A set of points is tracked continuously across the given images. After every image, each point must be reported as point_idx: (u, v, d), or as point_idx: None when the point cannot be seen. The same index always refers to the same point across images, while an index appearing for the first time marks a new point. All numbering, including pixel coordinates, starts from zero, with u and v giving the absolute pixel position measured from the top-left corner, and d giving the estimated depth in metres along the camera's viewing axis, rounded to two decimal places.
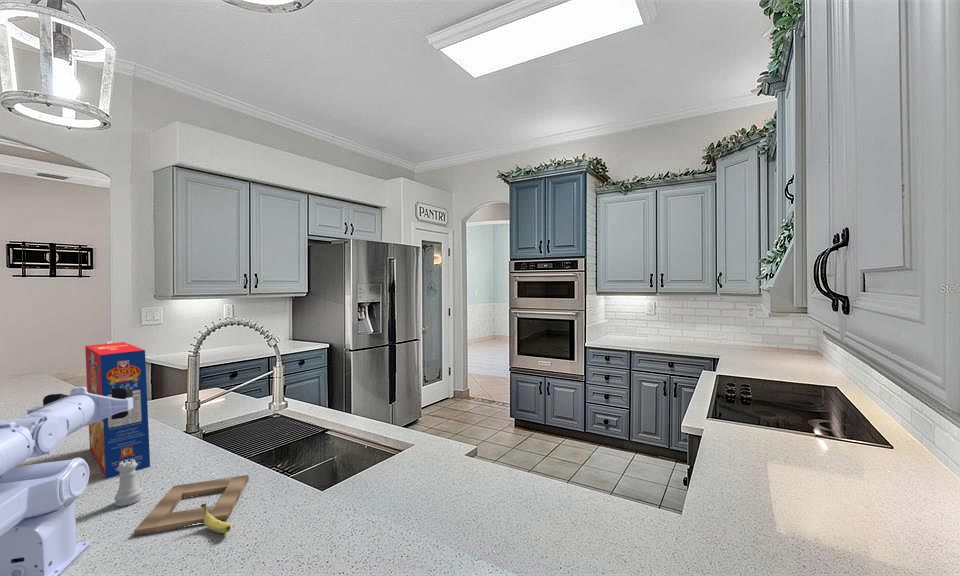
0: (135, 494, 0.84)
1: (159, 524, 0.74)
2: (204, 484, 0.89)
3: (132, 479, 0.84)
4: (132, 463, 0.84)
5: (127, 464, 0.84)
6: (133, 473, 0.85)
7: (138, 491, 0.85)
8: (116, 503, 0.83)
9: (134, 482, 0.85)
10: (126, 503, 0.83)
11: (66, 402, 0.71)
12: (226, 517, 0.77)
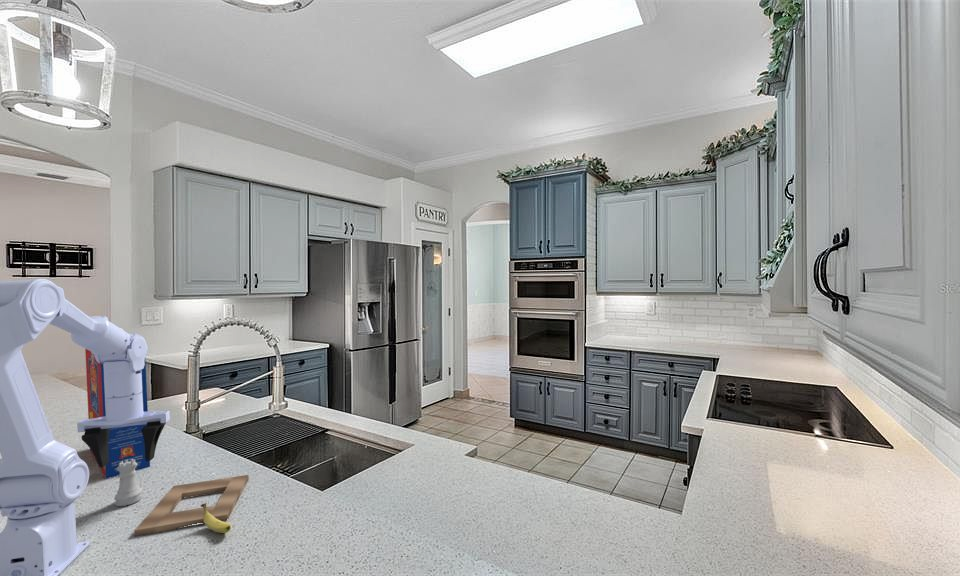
0: (135, 494, 0.84)
1: (159, 524, 0.74)
2: (204, 484, 0.89)
3: (132, 479, 0.84)
4: (132, 463, 0.84)
5: (127, 464, 0.84)
6: (133, 473, 0.85)
7: (138, 491, 0.85)
8: (116, 503, 0.83)
9: (134, 482, 0.85)
10: (126, 503, 0.83)
11: None
12: (226, 517, 0.77)
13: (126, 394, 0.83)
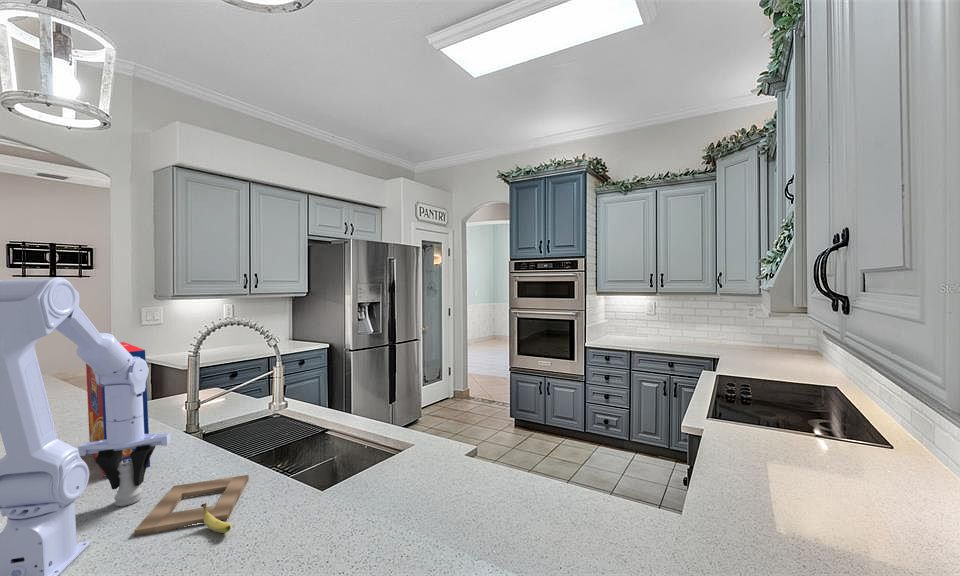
0: (135, 494, 0.84)
1: (159, 524, 0.74)
2: (204, 484, 0.89)
3: (132, 479, 0.84)
4: (132, 463, 0.84)
5: (127, 464, 0.84)
6: (133, 473, 0.85)
7: (138, 491, 0.85)
8: (116, 503, 0.83)
9: None
10: (126, 502, 0.83)
11: None
12: (226, 517, 0.77)
13: (127, 418, 0.83)
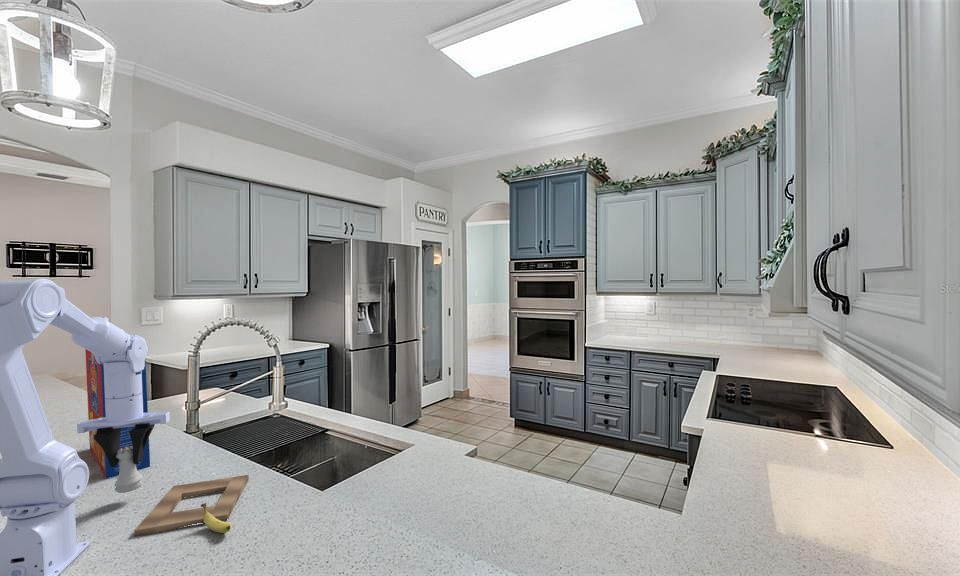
0: (135, 481, 0.84)
1: (159, 524, 0.74)
2: (204, 484, 0.89)
3: (131, 466, 0.84)
4: (130, 450, 0.84)
5: (125, 452, 0.84)
6: (132, 460, 0.84)
7: (138, 478, 0.85)
8: (116, 489, 0.83)
9: (133, 469, 0.85)
10: (126, 489, 0.83)
11: None
12: (226, 517, 0.77)
13: (126, 395, 0.83)
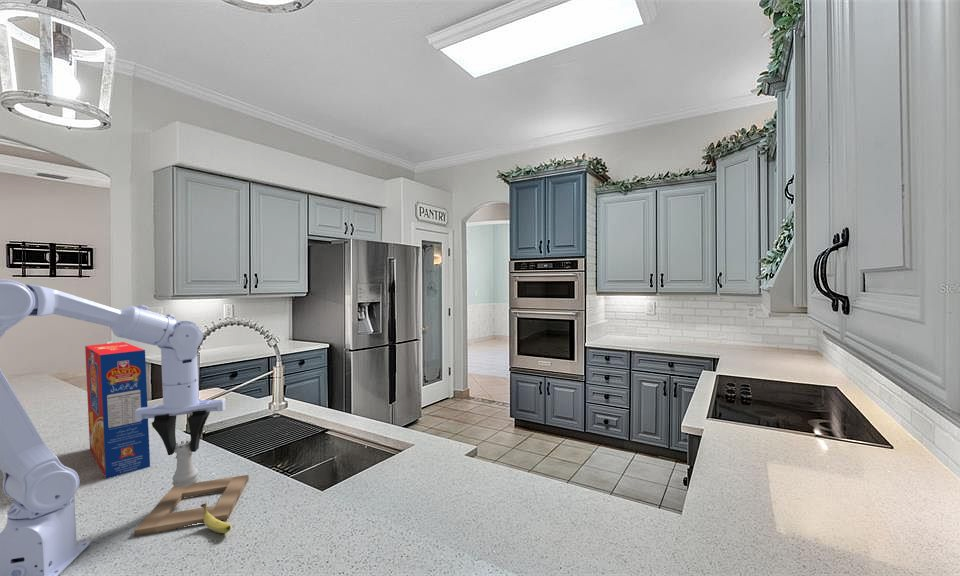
0: (193, 476, 0.83)
1: (159, 524, 0.74)
2: (204, 484, 0.89)
3: (189, 461, 0.83)
4: (188, 445, 0.83)
5: (183, 446, 0.82)
6: (189, 455, 0.83)
7: (195, 472, 0.84)
8: (174, 484, 0.82)
9: (191, 463, 0.83)
10: (184, 484, 0.82)
11: None
12: (226, 517, 0.77)
13: (172, 383, 0.80)
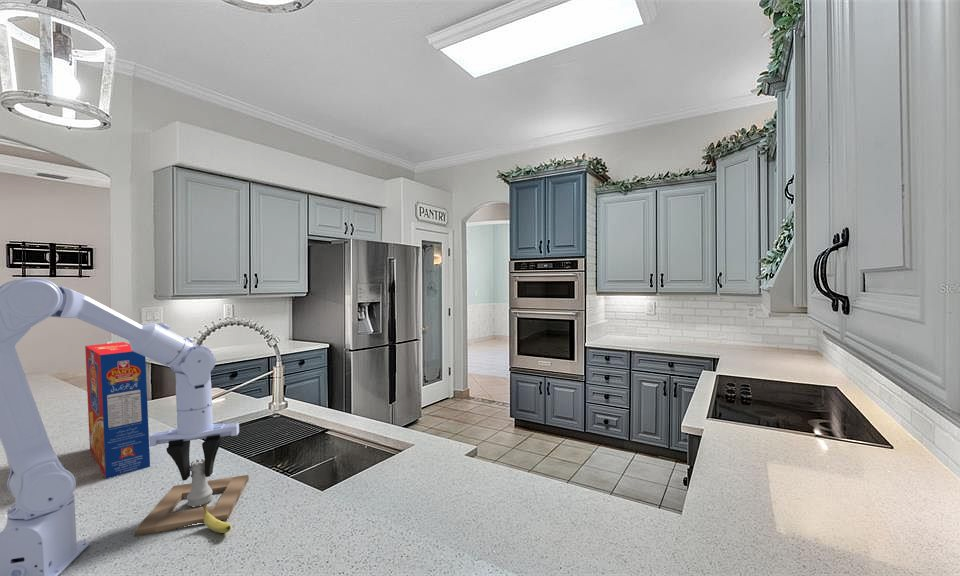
0: (207, 495, 0.83)
1: (159, 524, 0.74)
2: None
3: (203, 479, 0.83)
4: (203, 463, 0.83)
5: (199, 464, 0.82)
6: (204, 473, 0.83)
7: (209, 492, 0.84)
8: (188, 503, 0.82)
9: (205, 482, 0.83)
10: (198, 503, 0.82)
11: (211, 401, 0.84)
12: (226, 517, 0.77)
13: (185, 408, 0.80)
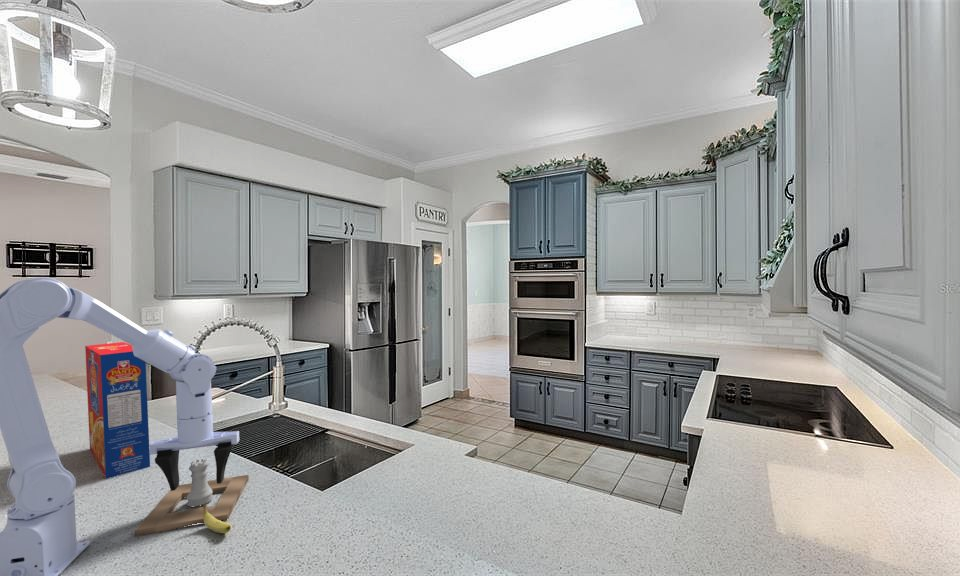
0: (207, 495, 0.83)
1: (159, 524, 0.74)
2: None
3: (203, 479, 0.83)
4: (203, 463, 0.83)
5: (199, 464, 0.82)
6: (204, 473, 0.83)
7: (209, 492, 0.84)
8: (188, 503, 0.82)
9: (205, 482, 0.83)
10: (198, 503, 0.82)
11: None
12: (226, 517, 0.77)
13: (185, 417, 0.80)
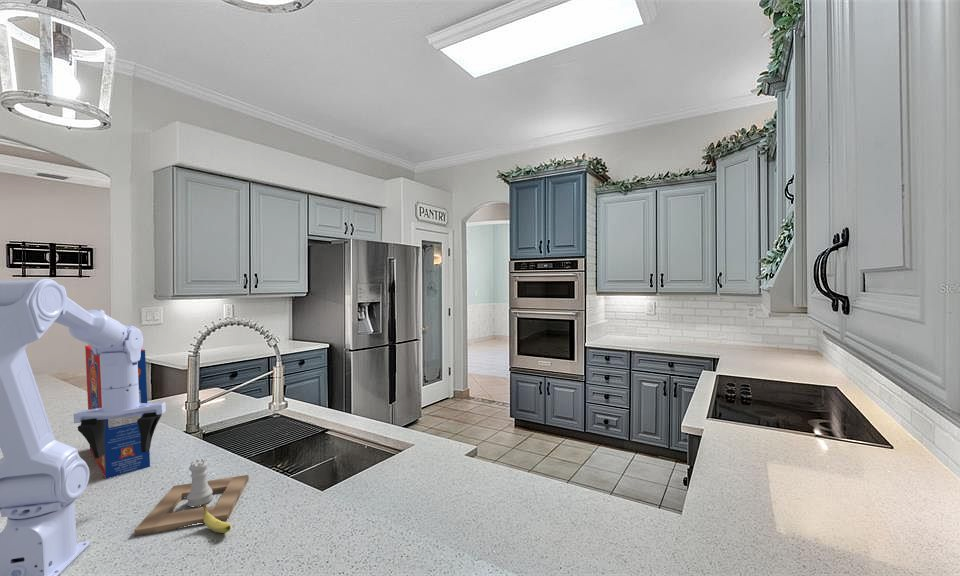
0: (207, 495, 0.83)
1: (159, 524, 0.74)
2: None
3: (203, 479, 0.83)
4: (203, 463, 0.83)
5: (199, 464, 0.82)
6: (204, 473, 0.83)
7: (209, 492, 0.84)
8: (188, 503, 0.82)
9: (205, 482, 0.83)
10: (198, 503, 0.82)
11: None
12: (226, 517, 0.77)
13: (123, 385, 0.83)
